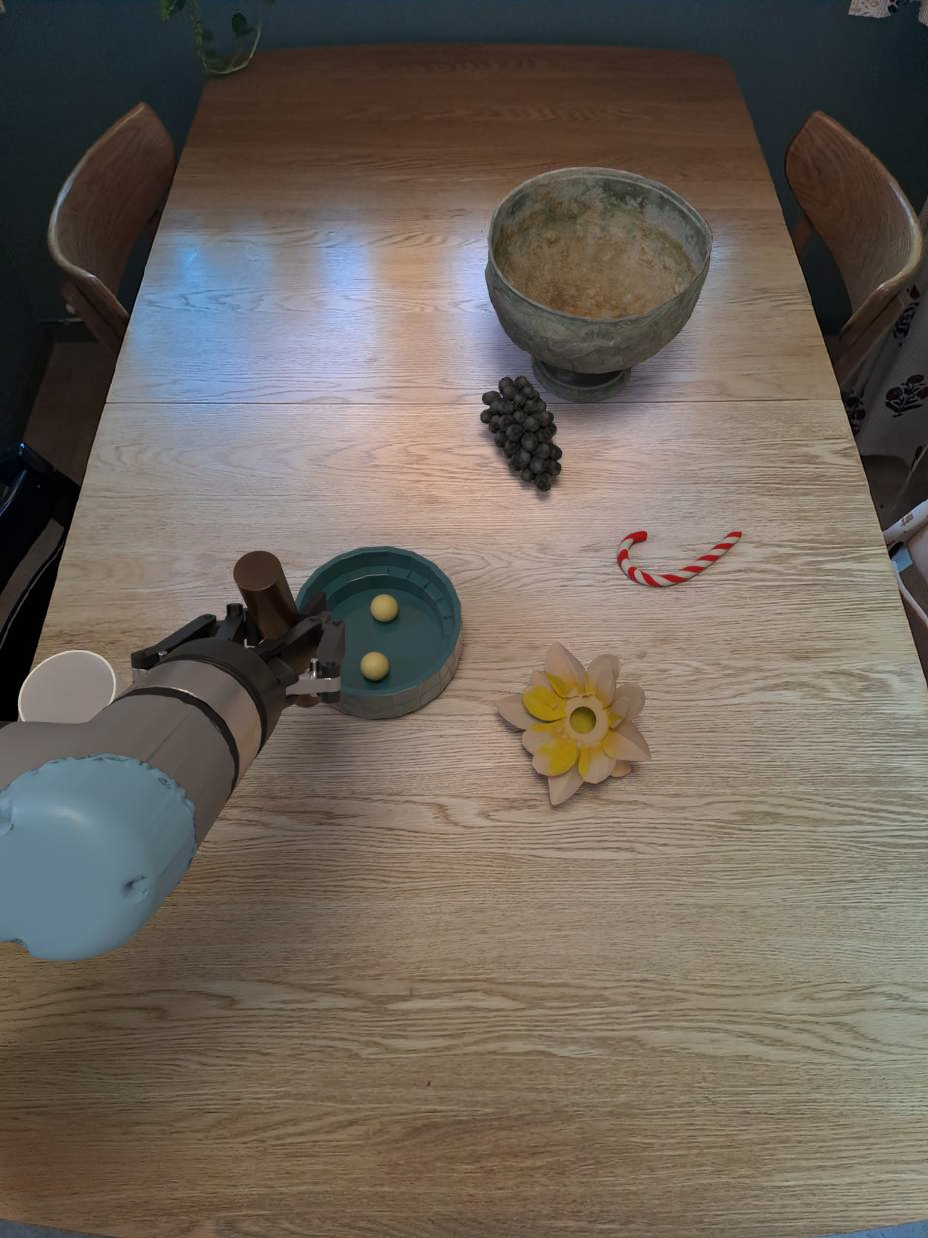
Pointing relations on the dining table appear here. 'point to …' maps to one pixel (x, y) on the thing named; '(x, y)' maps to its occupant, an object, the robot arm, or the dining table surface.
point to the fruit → (512, 419)
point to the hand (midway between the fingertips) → (297, 606)
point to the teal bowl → (391, 627)
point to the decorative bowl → (594, 274)
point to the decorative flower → (578, 721)
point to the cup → (69, 688)
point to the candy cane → (676, 576)
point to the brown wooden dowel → (269, 601)
